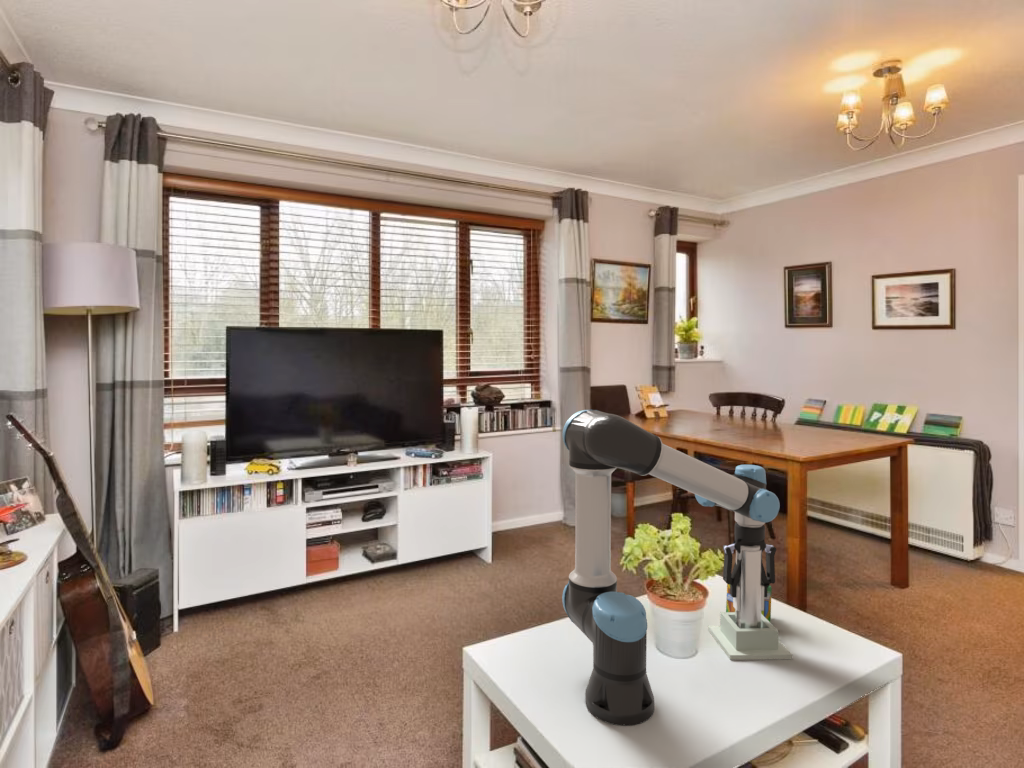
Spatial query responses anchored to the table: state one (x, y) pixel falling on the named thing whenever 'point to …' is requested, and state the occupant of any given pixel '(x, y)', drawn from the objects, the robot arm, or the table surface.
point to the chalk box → (765, 613)
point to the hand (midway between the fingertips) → (748, 608)
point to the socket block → (748, 640)
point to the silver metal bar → (749, 587)
